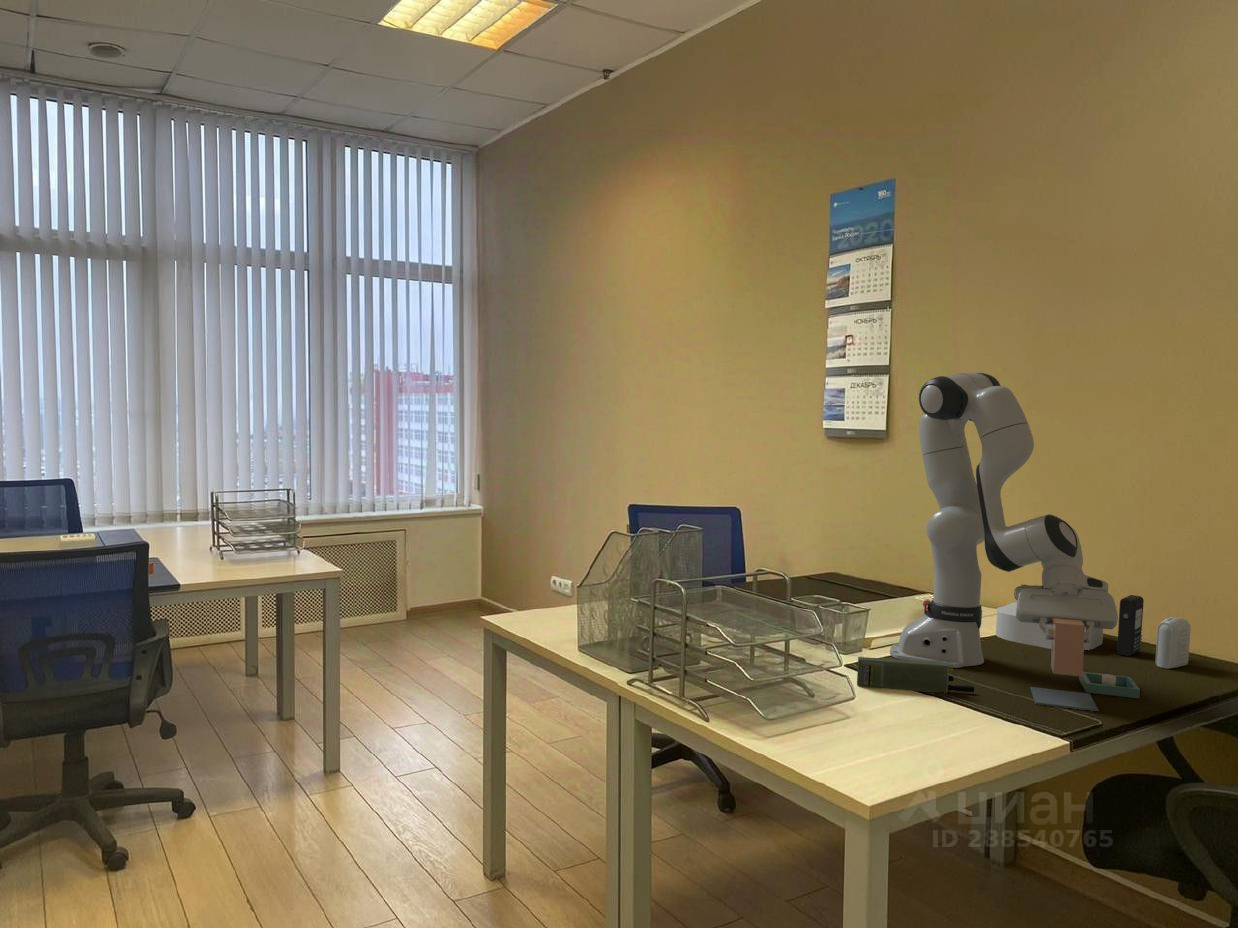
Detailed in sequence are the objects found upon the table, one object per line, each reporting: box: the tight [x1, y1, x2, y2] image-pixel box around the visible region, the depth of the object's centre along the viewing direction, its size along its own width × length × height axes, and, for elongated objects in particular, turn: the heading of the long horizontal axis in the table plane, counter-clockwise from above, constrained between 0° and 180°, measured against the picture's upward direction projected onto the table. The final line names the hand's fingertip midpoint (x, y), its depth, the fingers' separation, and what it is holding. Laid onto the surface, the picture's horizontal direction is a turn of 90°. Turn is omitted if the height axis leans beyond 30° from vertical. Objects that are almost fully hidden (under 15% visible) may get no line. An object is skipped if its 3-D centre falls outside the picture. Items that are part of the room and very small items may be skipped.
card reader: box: [1116, 594, 1145, 657], centre depth 241 cm, size 9×4×15 cm, turn 136°
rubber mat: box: [1030, 686, 1099, 712], centre depth 199 cm, size 12×12×1 cm
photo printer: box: [1154, 616, 1192, 670], centre depth 230 cm, size 10×4×12 cm, turn 123°
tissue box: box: [995, 601, 1104, 651], centre depth 256 cm, size 25×25×16 cm
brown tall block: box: [1050, 618, 1085, 677], centre depth 198 cm, size 6×6×11 cm
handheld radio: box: [856, 656, 975, 694], centre depth 203 cm, size 7×3×25 cm
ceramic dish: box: [1078, 671, 1141, 699], centre depth 208 cm, size 11×11×3 cm
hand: (1067, 639), depth 198 cm, fingers closed on brown tall block, 6 cm apart
